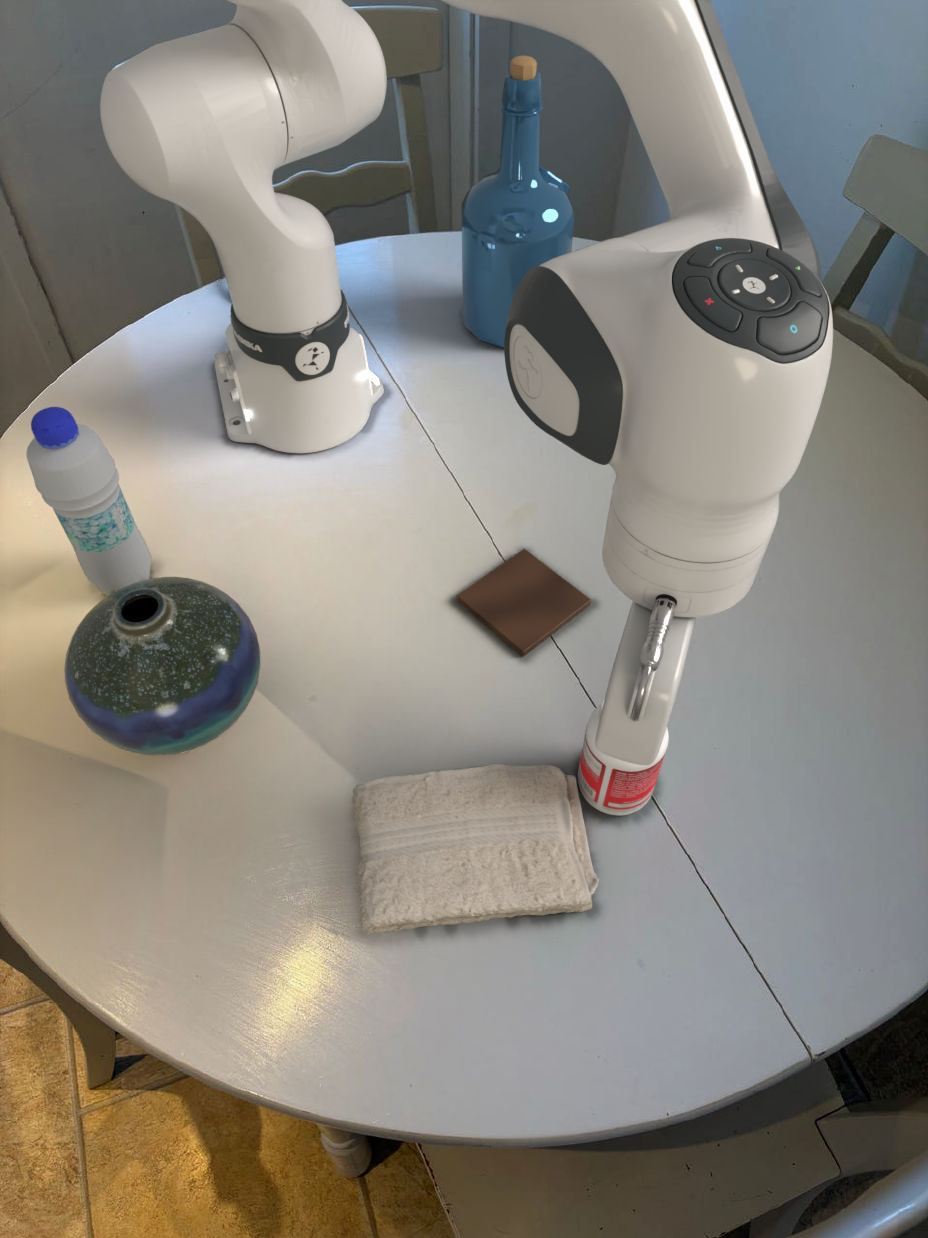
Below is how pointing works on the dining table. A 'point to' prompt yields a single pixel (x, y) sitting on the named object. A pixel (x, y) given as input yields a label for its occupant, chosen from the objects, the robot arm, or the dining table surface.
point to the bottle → (87, 500)
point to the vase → (162, 665)
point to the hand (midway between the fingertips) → (645, 677)
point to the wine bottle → (512, 212)
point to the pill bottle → (615, 775)
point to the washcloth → (471, 847)
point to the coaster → (523, 601)
